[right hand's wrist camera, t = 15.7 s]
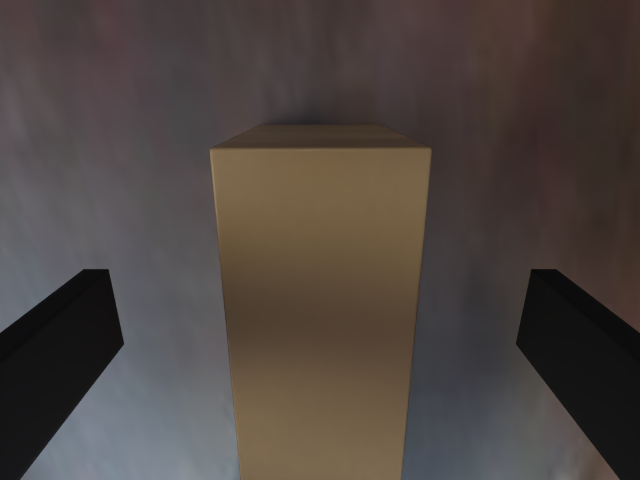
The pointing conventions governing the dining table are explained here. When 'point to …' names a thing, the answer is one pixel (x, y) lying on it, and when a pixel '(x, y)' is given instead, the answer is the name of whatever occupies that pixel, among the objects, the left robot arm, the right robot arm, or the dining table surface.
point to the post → (320, 295)
